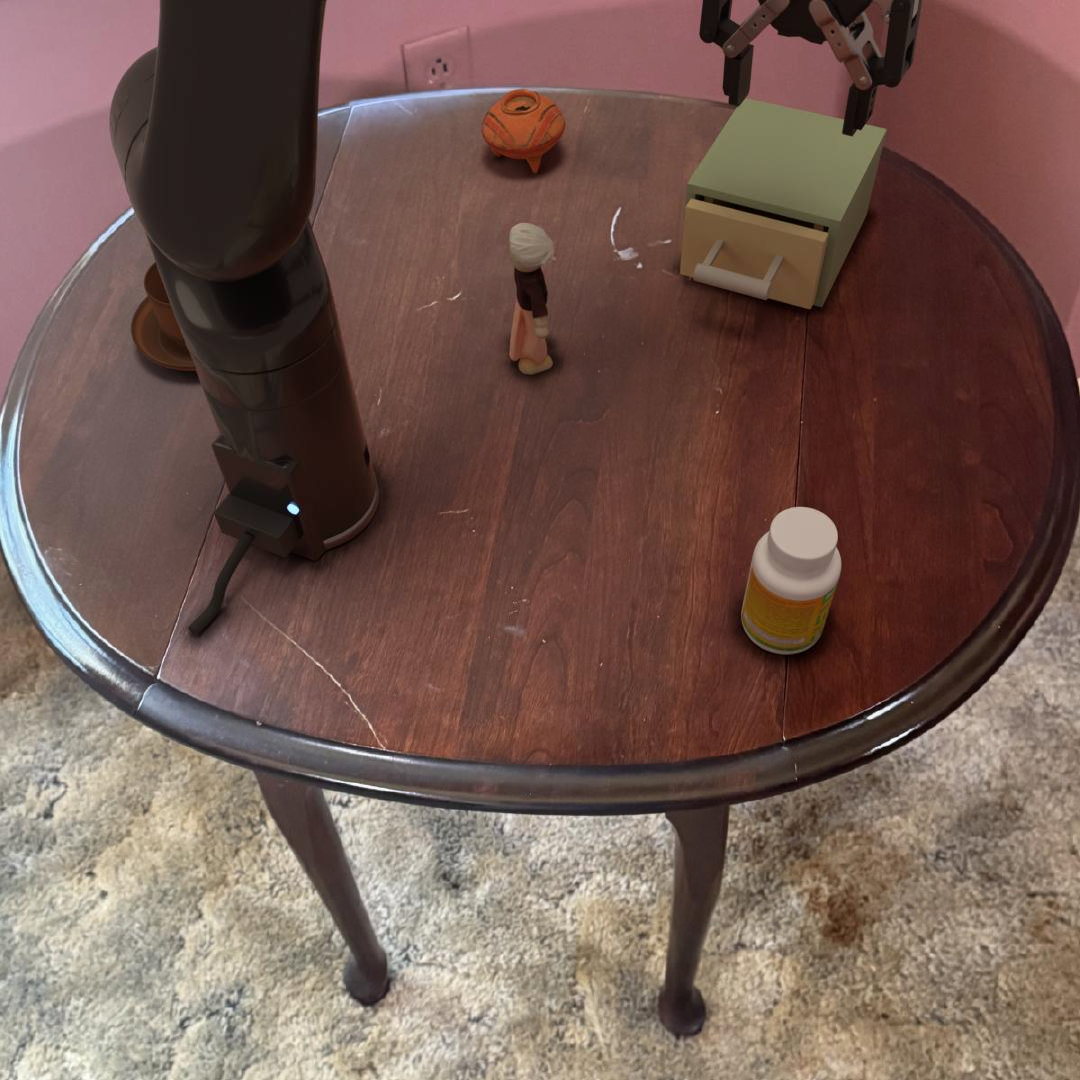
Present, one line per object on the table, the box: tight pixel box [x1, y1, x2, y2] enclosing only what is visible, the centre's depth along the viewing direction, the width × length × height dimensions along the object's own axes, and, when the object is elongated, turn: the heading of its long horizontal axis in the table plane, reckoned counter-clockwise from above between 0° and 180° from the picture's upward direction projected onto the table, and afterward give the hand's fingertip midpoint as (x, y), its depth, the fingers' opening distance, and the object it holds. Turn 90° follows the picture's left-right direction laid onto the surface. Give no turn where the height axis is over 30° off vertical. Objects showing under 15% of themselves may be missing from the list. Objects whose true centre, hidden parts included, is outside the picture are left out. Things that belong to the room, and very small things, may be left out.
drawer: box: [679, 196, 829, 310], centre depth 92 cm, size 17×11×7 cm, turn 154°
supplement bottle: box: [740, 506, 842, 655], centre depth 70 cm, size 5×5×10 cm
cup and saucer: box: [130, 261, 196, 372], centre depth 90 cm, size 12×12×6 cm
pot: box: [481, 88, 567, 174], centre depth 105 cm, size 8×8×7 cm
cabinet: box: [679, 97, 888, 308], centre depth 94 cm, size 14×13×9 cm
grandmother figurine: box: [508, 222, 555, 375], centre depth 85 cm, size 8×4×13 cm, turn 21°
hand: (794, 114), depth 79 cm, fingers open, 8 cm apart
